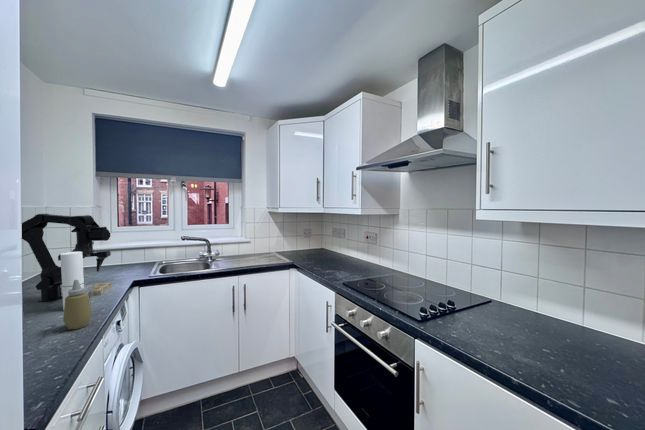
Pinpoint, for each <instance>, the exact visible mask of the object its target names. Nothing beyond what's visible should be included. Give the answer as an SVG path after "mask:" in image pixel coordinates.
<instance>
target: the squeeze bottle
mask: <svg viewBox="0 0 645 430" xmlns="http://www.w3.org/2000/svg"><path fill="white" fill-rule="evenodd" d="M68 295H69V296H67V297H66V298H65V307H64V310H63V323H64V324H65V326H66V328H67V329H68V330H78V329H81V328H84V327H86V326H89V323H90V320H91V317H92V314H93V313H92V306H91V303H90V302H91V301H90V298H89V295H88V294H87V293H85V288H81V286H80V283H79V281H78V280H74V283H73V287H72V289H71V290H69V291H68Z"/></svg>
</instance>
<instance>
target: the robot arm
mask: <svg viewBox="0 0 645 430" xmlns="http://www.w3.org/2000/svg"><path fill="white" fill-rule="evenodd" d="M48 223H51V224H61V225H67V226H70V227H73V229H72V230H71V231H70V232H71V233H76V244H75V245H74V246H75V247H74V248H73V249H72V251H71V252H82V255H83V259H85V258H92V257H97V258H96V259H95V260H96V272H100V269H101V267H102V264H103V263H104V261H105V260H106V259H108V257H110V256H111V255H112V254H111V253H112V252H111V250H108V249H107V250H106V249H105V250H99V251H96V252H95V250H94V249H93V247H94V246H93V245H94V242H96V241H98V242H103V241H104V242H105V241H108V240H110V239H111V232H110V230H109V229H108V227H107V226H100V225H99V224H98V223H97V222H96V221H95V219H94V218H93V216H92V215H89V214H85V215H75V216H74V215H73V216H71V215H63V214H62V215H61V214H60V215H59V214H50V213H38V214H35V215H34V216H33V217H31V218H29V219H27V220H25V221H23V222H22V223H21V224H22V238H21V239H22V240H23V241H25V242H26V243H28V245H29V247H30V249H31V251H32V253H33V255H34V257H35V258H36V261H37V263H38V264H39V266H40V268H41V271H40V274H39V275H40V278H41V280H40V281H39V282H38V283H37V284H36V285H35V288H36V290H37V291H40V294H41V295H40V296H41V299H40V300H38V303H41V302H42V303H43V302H45V303H49V302H55V301H57V300H59V299H63V295H62V287H61V286H62V275H61V266H58V265H57V264H56V263H55V260H54V259H53V257H52V255H51V253H50V251H49V249H48V247H47V245H46V243H45V241H44V239H43V238H44V234H45V233H44V229H45V228H47V226H48ZM57 261H58V262H59V261H60V262H61V256H60V254H58V256H57Z"/></svg>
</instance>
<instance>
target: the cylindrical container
mask: <svg viewBox="0 0 645 430" xmlns="http://www.w3.org/2000/svg"><path fill="white" fill-rule="evenodd" d="M59 255H60V256H61V260H60V267H61V275H62V285H61V294H62V296H63V298H62V307H63V311H64V307H65V298H66V297H67V296H69V295H68V291H69V290H71V289H72V287H73V283H74V280H78V281H79V283H80V286H81V288H84V286H85V279H84V278H85V277H84V260H83V259H84V258H83V255H82V252H72V251H67V252H63V253H60V254H59Z"/></svg>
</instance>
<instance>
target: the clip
mask: <svg viewBox="0 0 645 430" xmlns="http://www.w3.org/2000/svg"><path fill="white" fill-rule="evenodd" d="M94 285H95V284H86V285H84V288H85V293H87V294H88V295H89V299H90V298H93V297H94V295H93V290H94Z"/></svg>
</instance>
